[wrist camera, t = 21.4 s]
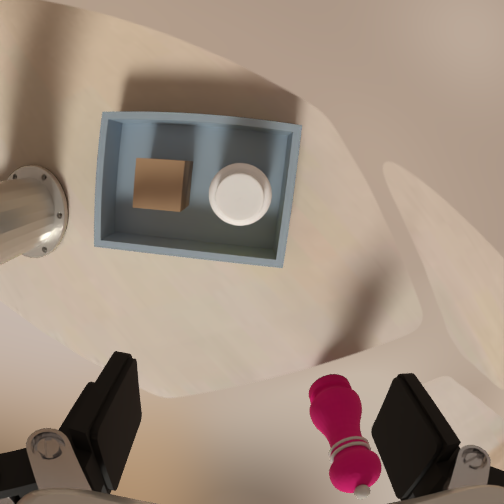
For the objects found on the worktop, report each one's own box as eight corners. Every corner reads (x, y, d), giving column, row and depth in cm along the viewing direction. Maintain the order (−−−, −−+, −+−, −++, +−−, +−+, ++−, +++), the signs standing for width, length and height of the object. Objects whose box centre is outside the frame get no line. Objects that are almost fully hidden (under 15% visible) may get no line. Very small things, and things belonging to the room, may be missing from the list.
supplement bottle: (271, 207, 36) (280, 225, 26) (222, 217, 36) (212, 237, 27) (261, 158, 35) (267, 156, 25) (212, 168, 35) (198, 170, 25)
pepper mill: (321, 364, 43) (358, 477, 23) (361, 378, 44) (409, 480, 24) (296, 400, 44) (317, 511, 25) (335, 411, 45) (367, 513, 26)
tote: (111, 236, 38) (94, 246, 33) (119, 117, 34) (102, 112, 29) (278, 254, 38) (282, 268, 34) (294, 130, 35) (302, 125, 30)
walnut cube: (150, 158, 34) (136, 157, 30) (193, 161, 35) (184, 160, 30) (147, 201, 36) (132, 207, 31) (188, 205, 36) (180, 212, 31)
